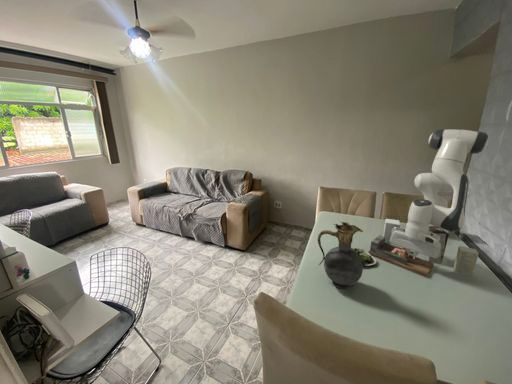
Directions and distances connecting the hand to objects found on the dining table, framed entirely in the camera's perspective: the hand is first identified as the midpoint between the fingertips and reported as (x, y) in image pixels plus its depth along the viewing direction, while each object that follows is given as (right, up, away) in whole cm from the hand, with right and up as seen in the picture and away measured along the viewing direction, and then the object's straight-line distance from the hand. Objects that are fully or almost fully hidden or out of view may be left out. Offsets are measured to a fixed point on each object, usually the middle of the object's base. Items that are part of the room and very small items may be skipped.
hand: (411, 257), depth 107 cm
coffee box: (+14, -2, +6) cm, 16 cm away
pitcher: (-41, -8, -10) cm, 43 cm away
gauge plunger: (-4, -1, +4) cm, 6 cm away
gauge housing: (-3, -2, +5) cm, 6 cm away
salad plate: (-25, -3, +7) cm, 26 cm away
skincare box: (+20, -5, -6) cm, 21 cm away
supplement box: (+4, +3, +24) cm, 25 cm away
